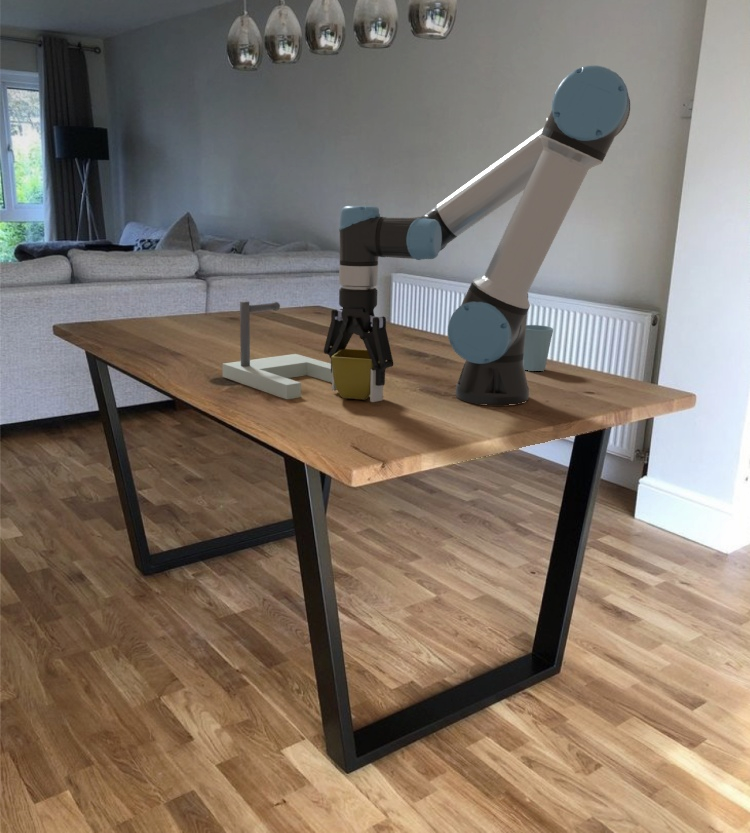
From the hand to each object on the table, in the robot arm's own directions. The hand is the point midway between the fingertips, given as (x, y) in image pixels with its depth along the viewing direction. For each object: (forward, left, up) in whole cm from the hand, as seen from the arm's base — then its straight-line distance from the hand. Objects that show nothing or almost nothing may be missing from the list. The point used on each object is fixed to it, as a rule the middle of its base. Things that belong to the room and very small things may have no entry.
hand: (356, 395), depth 163 cm
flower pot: (0, 0, -1) cm, 1 cm away
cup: (-4, -54, -1) cm, 54 cm away
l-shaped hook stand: (+19, +2, -1) cm, 19 cm away
